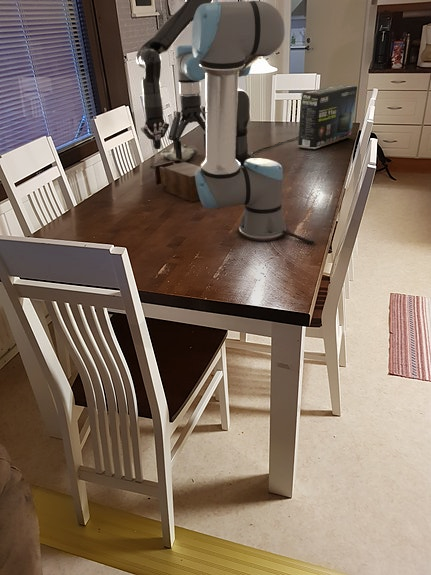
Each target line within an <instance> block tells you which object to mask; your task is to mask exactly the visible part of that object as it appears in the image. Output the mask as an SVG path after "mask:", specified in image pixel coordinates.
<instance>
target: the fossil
mask: <svg viewBox="0 0 431 575" xmlns="http://www.w3.org/2000/svg"><path fill="white" fill-rule="evenodd" d="M181 151H182V159H181V160H180V159H177V158H176V150H174V146H173V147H172V148H171V149H170V150H168V149H165V150H162V151H161V152H160V156H161V158H162V159H163V160H169V161H174V162H177V161H179V163H183V162H187V161H188V160H190V159H191V158H192V157H193V156H194V155H197V154H198V153H199V150H198V148H197V146H195V145H188V146H187V145H186V143H184V142H183V143H182V142H181Z"/></svg>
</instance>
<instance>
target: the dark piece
mask: <svg viewBox="0 0 431 575" xmlns="http://www.w3.org/2000/svg"><path fill="white" fill-rule="evenodd" d="M175 164H176V163H175V161H174V160H169V161H167V162H159V163H153V164H151V165H149V168H150V169H151V170H153V171H154V179H155V180H154V181H155V185H157V186H158V185H162V186H165V175H164V167H167V166H171V165H175Z"/></svg>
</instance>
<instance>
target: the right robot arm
mask: <svg viewBox="0 0 431 575" xmlns="http://www.w3.org/2000/svg"><path fill="white" fill-rule="evenodd" d="M285 37H286V23H285V19H284V17H283V15H282V14H281V13H280V11H279V10H278V9H277V8H276V7H274V5H272V4H271V3H268V2H267V1H262V0H249V1H248V0H247V1H246V0H245V1H244V0H243V1H214V2H213V1H212V3H205V4H202V5H200V6H199V7H198V8H197V10H196V13H195V15H194V19H193V21H192V26H191V44H185V45H184V44H183V45H177V47H176V57H175V58H176V65H177V66H176V67H177V78H178V92H179V106H180V111H176V110H175V111H173V118H172V122H171V126H170V130H169V133H168V136H167V139H168V140H170V141H172V143H173V147H174V150H176V158H177V159H180V160H181V159H182V151H181V144H182V141H181V140H180V139H181V138H182V135H183V133H184V131H185V130H186V127H187V126H188V125H189V124H192V123H197V124H198V125H199V126H200V128H202V130H203V131H204V133H203V146H204V149H203V150H204V152H205V159H203V160H202V161H201V162H200V167H201V171H200V170H198V171H196V172H195V180H196V186H197V190H198V194H199V198H200V200H199V201H200V203H201V205H202V207H203V208H204V209H206V210H213V209H214V210H215V209H217V210H219V209H224V208H231V207H239V206H244V211H243V213H242V216H241V220H240V222H239V226H238V232H239V235H240V236H241V237H242V238H244V239H247V240H250V241H254V242H271V241H277V240H279V239H281V238H283V237H285V235H287V236H289V237H292V238H294V239H298V240H300V241H302V242H305V243H308V244H312V245H313V244H314V243H315V241H314V240H312V239H307V238H305V237H302V236H300V235H298V234H295V233H292V232H290V231H287V223H286V221H285V216H284V214H283V210H282V200H283V183H284V175H283V173H284V172H283V171H284V170H283V166H282V164H280V163H279V162H278V161H275V160H272V159H268V158H263V157H253V158H250V157H249V159H247V160H245V163H244V166H240V163H239V161H238V160H237V159H235V158H236V129H237V100H238V88H239V78H241V77H247V76H248V75H249V74H250V71H251V68H252V65H253V64H254V63H255V62H257V61H258V60H260V58H262V57H268V56H270V55H272V54H274V53H275V52H277V51H278V50H279V48H280V47H281V46H282V45H283V43H284V40H285ZM203 80H204V81H205V84H204V87H205V90H204V91H205V92H204V94H205V96H204V97H205V100H204V102H205V106H204V105H202V95H201V91H202V90H201V81H203ZM201 115H202V116H201ZM203 119H204V120H203Z"/></svg>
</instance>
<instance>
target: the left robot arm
mask: <svg viewBox="0 0 431 575" xmlns="http://www.w3.org/2000/svg"><path fill="white" fill-rule="evenodd" d="M183 1H184V3H183V4H182V6H181V7H179V9H177V11H175V12H174V13H173V14H172V15H171V16H170V17H169V18H168V19H166V21H164V23H162V24H161V26H160V28H159V29H158V30H157V31H156V32H155V34H154V35H153V36H152V37H151V38H150V39H148V40H147V41H146V42H145V43H144V44H143V45H142V46H141V47H140V48H139V49H138V51H137V53H136V56H135V61H136V63H137V66H138V67H140V68H141V69H144V76H143V77H141V90H142V104H143V113H144V118H145V122H144V126H142V127H140V131H141V132H142V133H143V134H144V136H146V138H147V139H149V140H152V146H153V148H154V149H155V150H161V147H162V142H161V140H162V138H164V137H165V136H166V134H167V132H168V129H169V127H170V123H167V122H166V121H165V119H164V105H163V104H164V103H163V96H162V89H161V81H160V80H161V75H162V74H161V72H162V57H161V54H163V53H167V51H168V50H169V49H170V48H171V47H172V46H173V45H174V43H175V42H176V41H177V39H178V38H179V37H180V36H181V34H182V33H183V32H184V31H185V30H186V28H187V27H188V26H189V25H190V24H191V23H193V19H194V15H195V13H196V10H197V8H198V7H199V6H200V5H202V4H205V3H213V0H183ZM250 102H251V100H250V96H249V93H247V92H246V91H245V90H243V89H240V88H239V87H238V100H237V129H236V158H235V159H237V160H238V161H239V163H240V166H244V163H245V160H247V159H250V157H251V158H254V155H253V154H255V153H258V152H260V151H263V150H265V149H267V148H266V146H263V147H261V148H258V149H256V150H254V151H251V153H249V150H248V149H249V144H248V125H249V121H250V110H251V109H250V108H251V107H250V106H251V103H250Z"/></svg>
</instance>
